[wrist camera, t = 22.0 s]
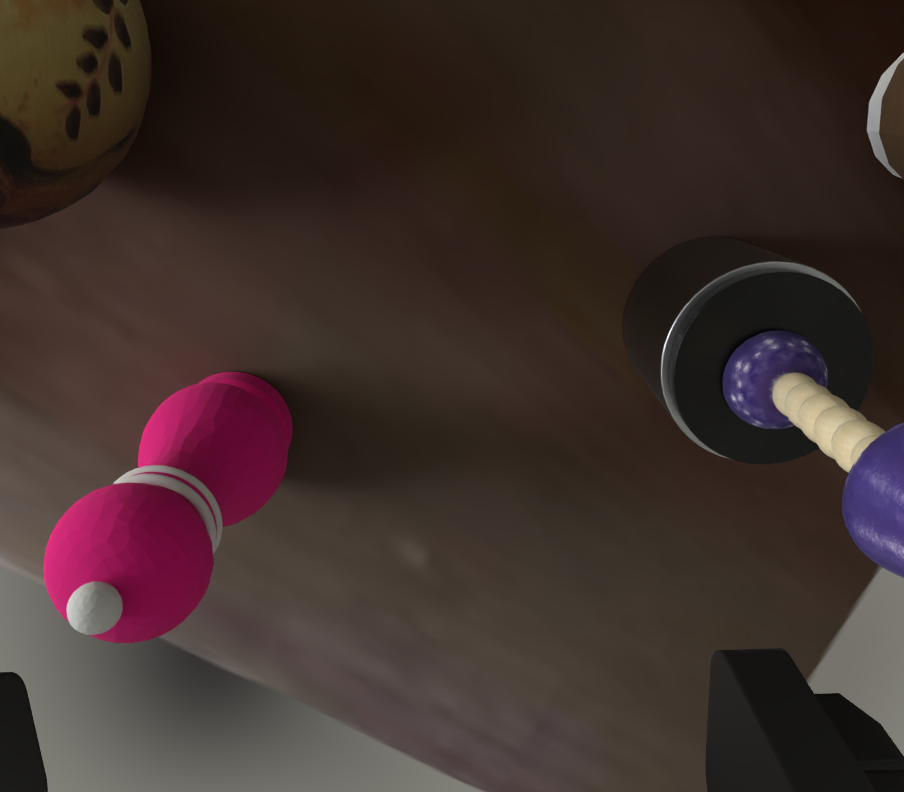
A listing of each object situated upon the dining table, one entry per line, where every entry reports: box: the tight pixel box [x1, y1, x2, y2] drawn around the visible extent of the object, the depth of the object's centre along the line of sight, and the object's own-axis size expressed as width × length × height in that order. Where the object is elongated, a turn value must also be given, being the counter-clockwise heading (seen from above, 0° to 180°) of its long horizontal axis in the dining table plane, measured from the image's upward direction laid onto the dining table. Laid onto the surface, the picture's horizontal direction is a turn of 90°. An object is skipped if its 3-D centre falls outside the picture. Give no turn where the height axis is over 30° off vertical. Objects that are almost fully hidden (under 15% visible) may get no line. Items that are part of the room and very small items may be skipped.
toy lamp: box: [722, 330, 904, 578], centre depth 28 cm, size 5×5×17 cm
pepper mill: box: [43, 372, 293, 643], centre depth 37 cm, size 7×7×20 cm
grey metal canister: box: [623, 237, 874, 464], centre depth 40 cm, size 9×9×10 cm
